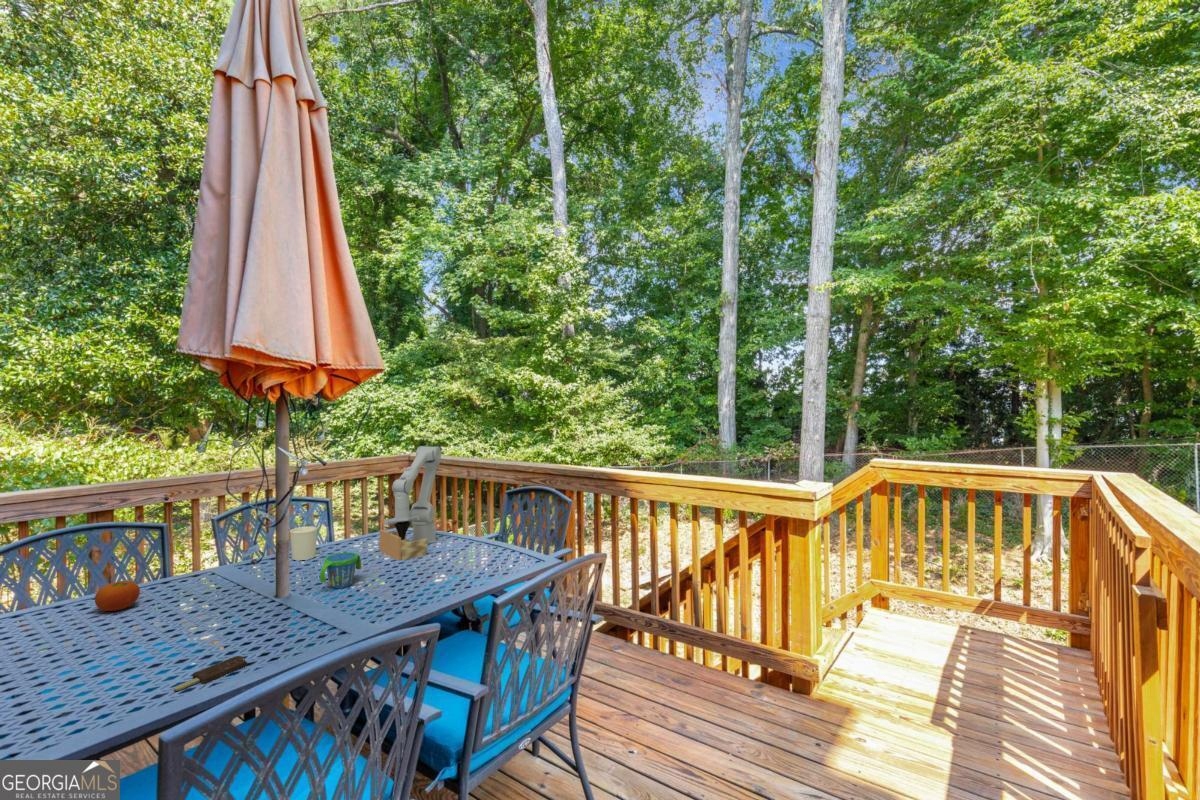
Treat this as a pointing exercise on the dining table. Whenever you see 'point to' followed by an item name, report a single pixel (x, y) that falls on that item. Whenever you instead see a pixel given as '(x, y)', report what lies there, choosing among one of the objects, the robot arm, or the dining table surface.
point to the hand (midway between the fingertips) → (402, 539)
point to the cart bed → (412, 548)
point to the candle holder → (303, 542)
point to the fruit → (117, 595)
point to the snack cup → (340, 569)
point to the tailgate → (390, 544)
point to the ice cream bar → (214, 672)
